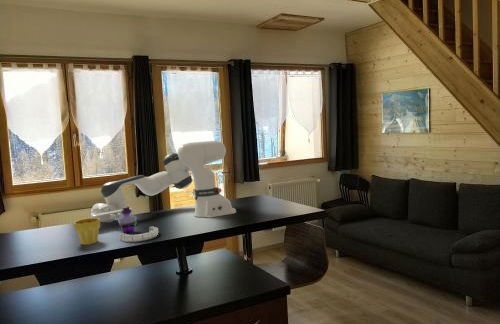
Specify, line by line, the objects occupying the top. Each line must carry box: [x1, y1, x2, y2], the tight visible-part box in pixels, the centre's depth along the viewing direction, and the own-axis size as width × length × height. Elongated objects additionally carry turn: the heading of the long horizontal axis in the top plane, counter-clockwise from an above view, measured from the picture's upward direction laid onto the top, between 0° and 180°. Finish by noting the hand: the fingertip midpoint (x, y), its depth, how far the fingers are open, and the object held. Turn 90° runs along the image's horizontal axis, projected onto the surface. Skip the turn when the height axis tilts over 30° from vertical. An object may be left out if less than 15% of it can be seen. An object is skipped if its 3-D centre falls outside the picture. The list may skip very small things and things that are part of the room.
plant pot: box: [73, 217, 101, 246], centre depth 174 cm, size 10×10×10 cm
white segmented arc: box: [118, 226, 159, 243], centre depth 177 cm, size 11×16×2 cm
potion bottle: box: [117, 206, 137, 235], centre depth 188 cm, size 9×9×12 cm
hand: (118, 216), depth 196 cm, fingers closed
